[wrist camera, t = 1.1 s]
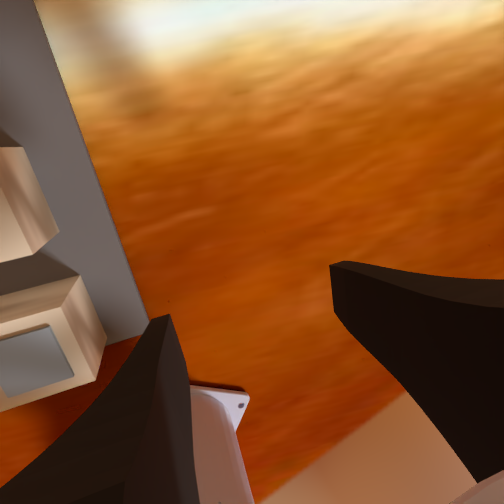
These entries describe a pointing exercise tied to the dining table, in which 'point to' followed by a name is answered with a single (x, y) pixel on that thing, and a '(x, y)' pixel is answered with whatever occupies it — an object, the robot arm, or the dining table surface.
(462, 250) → the dining table surface
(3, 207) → the plain block
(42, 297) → the marked block 2
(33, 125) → the mat
